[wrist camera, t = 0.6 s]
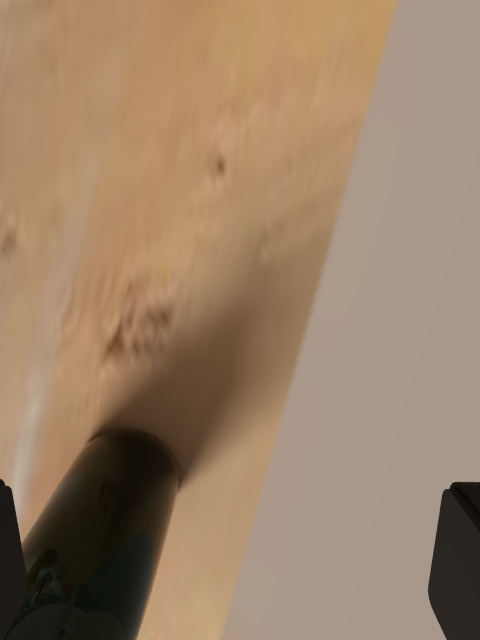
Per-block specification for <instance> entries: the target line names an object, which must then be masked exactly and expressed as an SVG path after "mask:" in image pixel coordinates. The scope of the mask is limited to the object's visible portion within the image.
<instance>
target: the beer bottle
mask: <svg viewBox="0 0 480 640" xmlns="http://www.w3.org/2000/svg"><path fill="white" fill-rule="evenodd" d="M178 485H179V472H178V468H177V465H176V462H175V460H174V459H173V457H172V455H171V453H170V452H169V451H168V450H167V449H166V448H165V446H164V445H162V444H161V443H160V442H159V441H157V440H156V439H154V438H152V437H150V436H149V435H146V434H143V433H140V432H137V431H130V430H117V431H112V432H108V433H104V434H102V435H100V436H97V437H96V438H94V439H93V440H91V441H90V442H89V443H88V444H87V445H86V446H85V447H84V448H83V449H82V450H81V452H80V453H79V454H78V456H77V457H76V459H75V460H74V462H73V463H72V465H71V466H70V468H69V469H68V471H67V472H66V474H65V475H64V477H63V478H62V480H61V482H60V483H59V485H58V486H57V488H56V489H55V491H54V493H53V494H52V496H51V497H50V499H49V500H48V502H47V503H46V505H45V507H44V508H43V510H42V511H41V513H40V515H39V516H38V518H37V519H36V521H35V522H34V524H33V526H32V527H31V529H30V530H29V532H28V534H27V535H26V537H25V538H24V540H23V541H22V543H21V545H22V551H23V557H24V563H25V568H26V574H27V580H28V591H27V595H26V598H25V601H24V603H23V605H22V607H21V609H20V610H19V612H18V614H17V616H16V617H15V619H14V621H13V623H12V625H11V626H10V628H9V630H8V632H7V634H6V635H5V637H4V639H3V640H137V638H138V635H139V632H140V629H141V625H142V622H143V619H144V616H145V613H146V609H147V606H148V603H149V600H150V596H151V592H152V589H153V585H154V581H155V578H156V574H157V570H158V567H159V563H160V559H161V555H162V552H163V548H164V544H165V540H166V536H167V533H168V529H169V525H170V521H171V517H172V513H173V509H174V505H175V501H176V497H177V491H178Z"/></svg>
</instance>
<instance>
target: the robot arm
mask: <svg viewBox="0 0 480 640" xmlns="http://www.w3.org/2000/svg"><path fill="white" fill-rule="evenodd" d="M27 591H28V580H27V574H26V568H25V563H24V557H23V551H22V545H21V540H20V534H19V528H18V523H17V517H16V511H15V506H14V500H13V494H12V490H11V488H10V487H9V486H5V483H4V481H3V480H2V479H0V640H3V639H4V637H5V635H6V634H7V632H8V630H9V628H10V626H11V625H12V623H13V621H14V619H15V617H16V616H17V614H18V612H19V610H20V609H21V607H22V605H23V603H24V601H25V598H26V595H27ZM428 595H429V600H430V603H431V606H432V609H433V611H434V613H435V615H436V618H437V620H438V622H439V624H440V626H441V628H442V631H443V633H444V635H445V637H446V639H447V640H480V482H454V483H452V485H451V486H450V489H446V490H444V492H443V494H442V500H441V507H440V514H439V520H438V526H437V533H436V539H435V546H434V552H433V559H432V566H431V572H430V579H429V585H428Z"/></svg>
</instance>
